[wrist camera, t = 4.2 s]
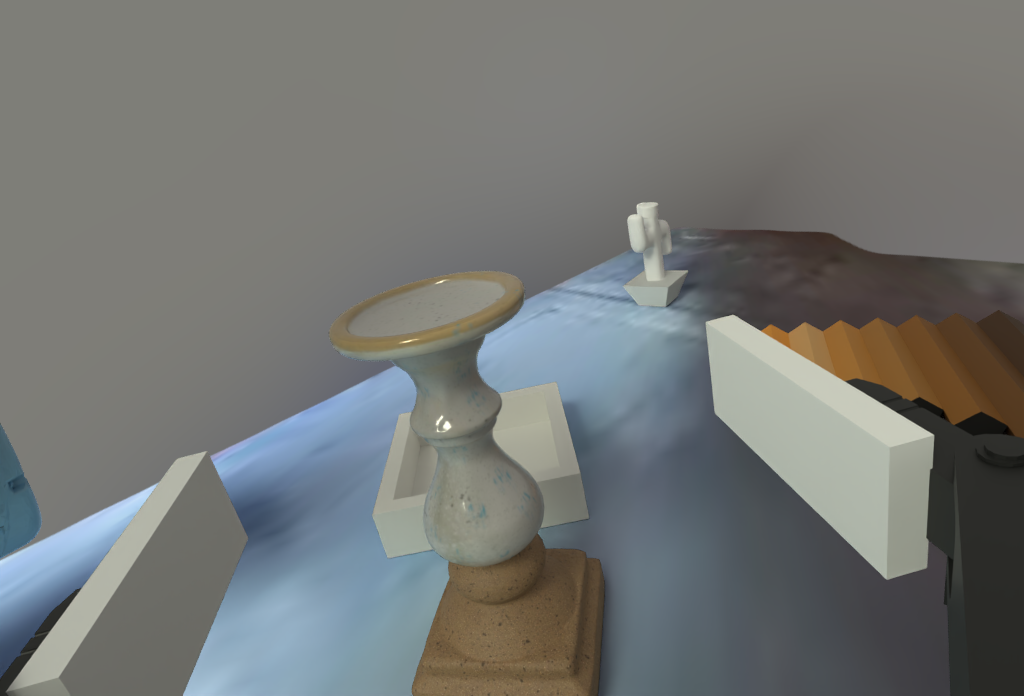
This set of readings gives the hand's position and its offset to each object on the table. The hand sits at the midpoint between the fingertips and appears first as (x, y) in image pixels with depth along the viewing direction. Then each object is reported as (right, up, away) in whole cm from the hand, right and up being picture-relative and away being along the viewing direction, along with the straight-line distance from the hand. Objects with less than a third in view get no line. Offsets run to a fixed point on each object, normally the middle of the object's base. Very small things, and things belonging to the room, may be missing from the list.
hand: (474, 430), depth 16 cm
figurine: (+23, +9, +76) cm, 80 cm away
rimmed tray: (-1, -10, +42) cm, 43 cm away
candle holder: (+1, -17, +24) cm, 30 cm away
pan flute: (+37, -3, +40) cm, 55 cm away
